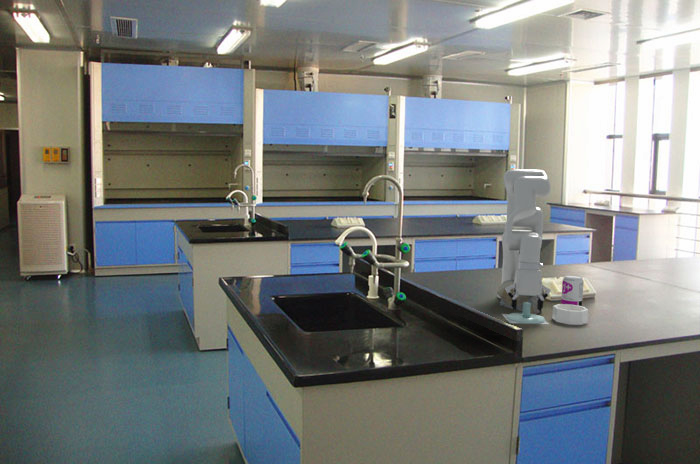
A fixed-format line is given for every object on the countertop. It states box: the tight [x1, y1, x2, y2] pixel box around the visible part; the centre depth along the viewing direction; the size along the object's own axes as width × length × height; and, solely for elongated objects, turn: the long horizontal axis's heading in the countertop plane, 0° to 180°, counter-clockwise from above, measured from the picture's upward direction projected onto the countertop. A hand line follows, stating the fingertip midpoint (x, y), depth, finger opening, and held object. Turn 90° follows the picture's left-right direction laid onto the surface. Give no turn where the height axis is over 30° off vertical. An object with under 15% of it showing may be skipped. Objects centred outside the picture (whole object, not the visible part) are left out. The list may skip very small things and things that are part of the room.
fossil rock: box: [496, 280, 545, 315], centre depth 246 cm, size 20×9×15 cm, turn 32°
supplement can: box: [560, 274, 585, 306], centre depth 242 cm, size 8×8×15 cm
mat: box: [501, 313, 550, 325], centre depth 228 cm, size 14×15×1 cm
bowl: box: [551, 303, 589, 326], centre depth 227 cm, size 12×12×6 cm
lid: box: [507, 302, 546, 325], centre depth 227 cm, size 14×14×6 cm
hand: (526, 309), depth 227 cm, fingers open, 9 cm apart
